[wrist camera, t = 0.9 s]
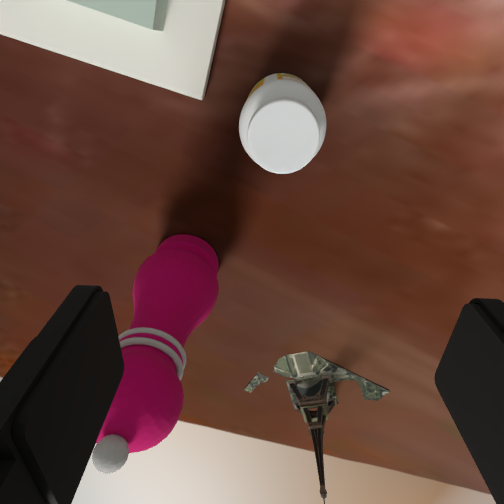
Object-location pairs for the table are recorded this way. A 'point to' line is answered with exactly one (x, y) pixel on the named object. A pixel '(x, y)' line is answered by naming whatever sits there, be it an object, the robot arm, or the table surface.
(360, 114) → the table surface
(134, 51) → the cup holder
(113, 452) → the pepper mill
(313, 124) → the supplement bottle
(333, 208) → the table surface
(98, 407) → the robot arm
